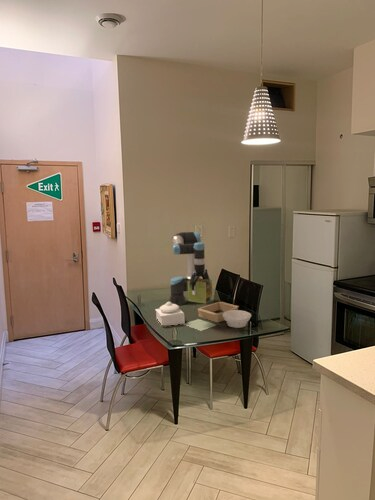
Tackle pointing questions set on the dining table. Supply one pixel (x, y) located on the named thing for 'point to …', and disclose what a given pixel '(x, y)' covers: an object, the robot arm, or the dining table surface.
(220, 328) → the dining table surface
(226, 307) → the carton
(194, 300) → the protein box
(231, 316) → the bowl
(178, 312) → the butter dish
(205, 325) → the mat
